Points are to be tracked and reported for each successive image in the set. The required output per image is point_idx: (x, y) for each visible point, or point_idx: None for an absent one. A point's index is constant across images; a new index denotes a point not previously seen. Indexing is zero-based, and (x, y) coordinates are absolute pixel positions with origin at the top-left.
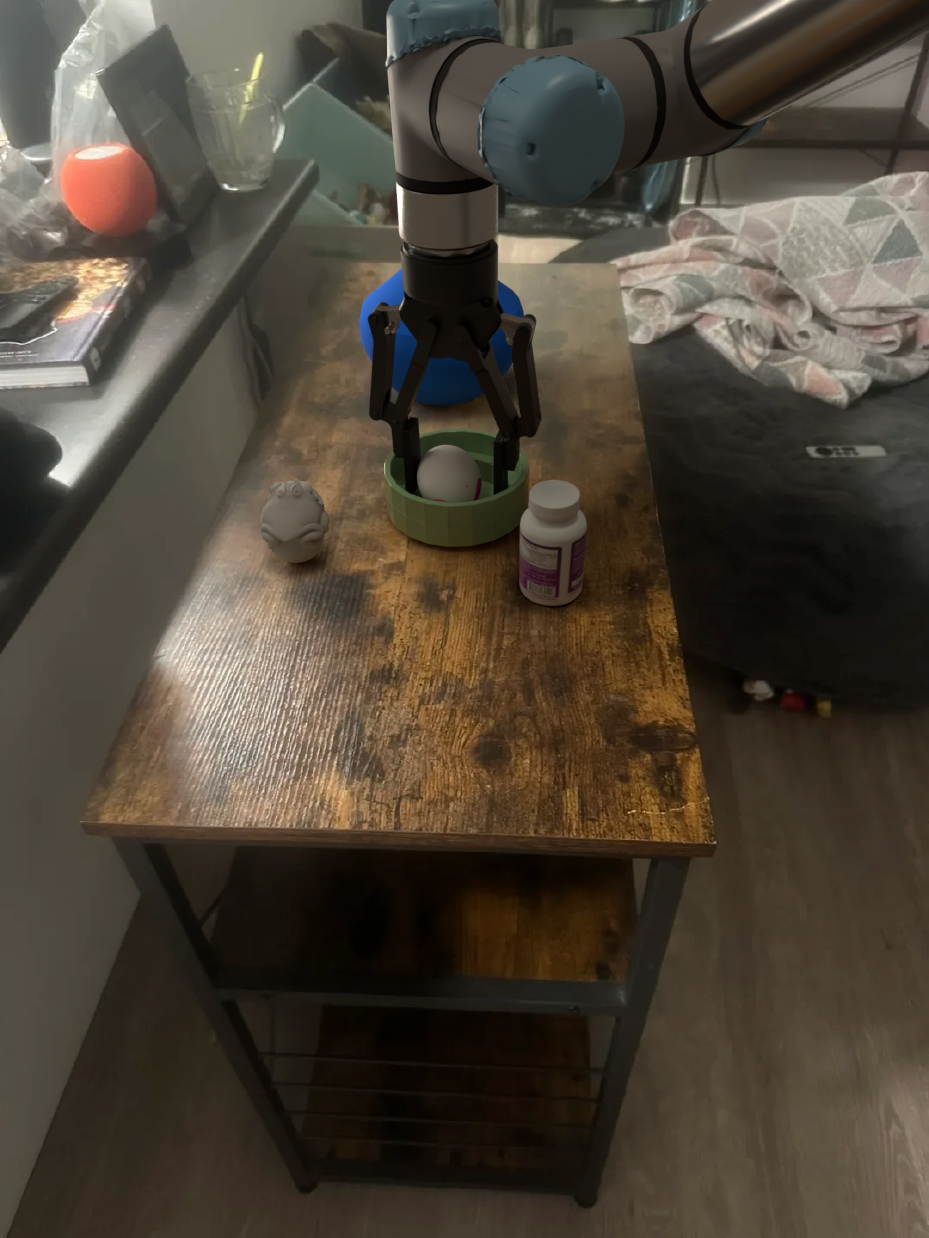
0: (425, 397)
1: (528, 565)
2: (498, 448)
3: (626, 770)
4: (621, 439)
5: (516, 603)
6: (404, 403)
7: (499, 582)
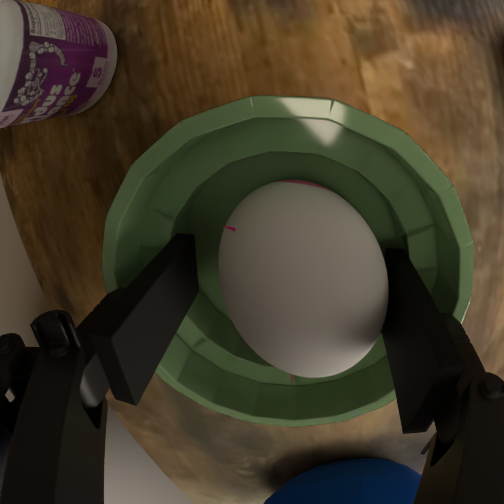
0: (372, 467)
1: (55, 8)
2: (107, 320)
3: None
4: (120, 408)
5: (120, 11)
6: (480, 471)
7: (154, 45)
